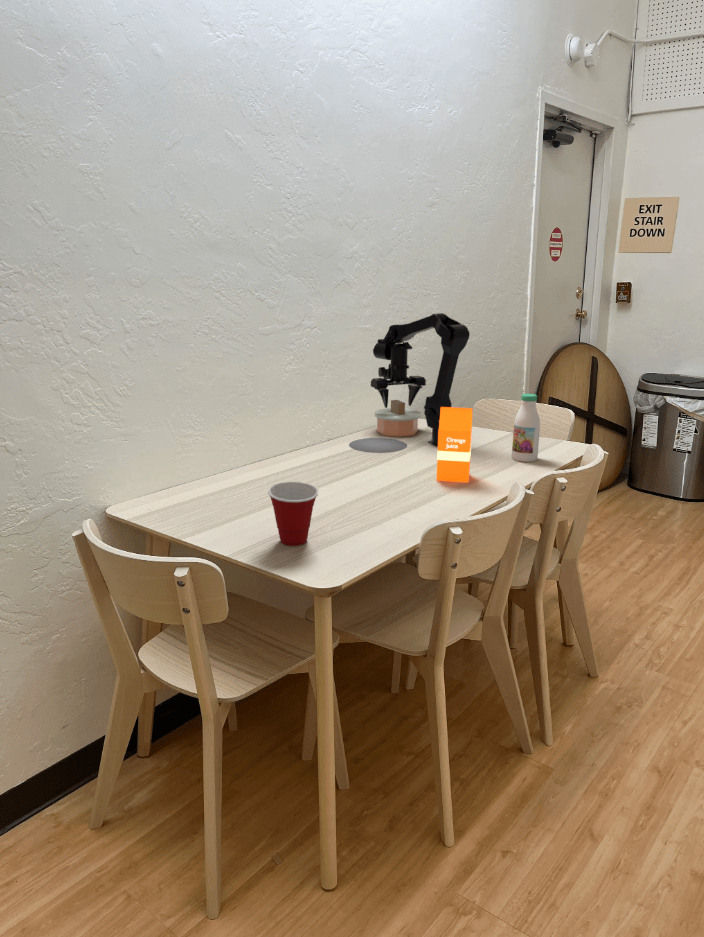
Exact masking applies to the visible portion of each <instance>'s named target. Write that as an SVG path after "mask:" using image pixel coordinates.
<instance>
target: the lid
mask: <svg viewBox="0 0 704 937" xmlns="http://www.w3.org/2000/svg"><path fill="white" fill-rule="evenodd" d="M421 413H422V412H420V411H419V410H416V409H410V408H406V402H404V401H401V400H399V399H390V408H388V407H387V408H381V409H377V410H376V411H374V417H376V419H377V418H379V419H383V420H391V421H408V420H415V419H418V420H419V419H420V418H421Z"/></svg>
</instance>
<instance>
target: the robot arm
mask: <svg viewBox="0 0 704 937" xmlns="http://www.w3.org/2000/svg"><path fill="white" fill-rule="evenodd" d="M433 329H434V332H435V333H436V334H437V336H438V337H440V345H441V347H442V348H441V349H442V352H443V353H442V357H441V361H440V366H439V370H438V373H437V374H438V375H437V378H436V379H437V380H436V384H435V388H434V392H433V394H432V395H431V396H426V398H425V404H424V406H423V409H424V414H423V415H424V416H425V420H426V425H427V427H428V428H430V429H432V430H431V431H432V432H431V440H427V444H428V443H429V444H430V445H432V446H434V447H436V448H438V431H439V422H440V410H441V407H452V401H451V400H452V399H451V398H450V394H451V390H452V385H453V382H454V378H455V373H456V368H457V364H458V360H459V357H460V354H461V353H462V352H463V350H464V349H465V348H466V346H467V343H468V340H469V338H470V333H471V332H470V331H469V328H468V327H467V326H466V325H464V324H462V323H460V321H458V320H455V319H453V318H451V317H449V315H447V314H446V313H443V312H441V313H439V312H438V313H432V314H431V315H429V316H426V317H423V318H420V319H416V320H414V321H411V322H408V323H402V324H401V323H399V324H398V323H397V324H391V325H390V326H389V327H388V331H387V332H386V334H385V336H384V337H383V338H378V339H377V342H376V344H375V345H374V346H373V347H374V348H373V349H372V352H373V356H374V357H375V358H377V359H379V360H385V361H390V363H389V364H388V367H387V368H386V367H385V366H382V367H381V366H380V367H378V377H377V378H376V377H374V378H372V379H371V380H370V387H371V388H374V389H375V390H377V391H378V393H379V395H380V397H381V400H382V404H383V406H384V409H387V408H388V405H389V391H390V390H389V389H388V387H389V386H399V385H407V387H408V406H409V407H411V406H412V404H413V402H414V400H415V398H416V396H417V394H418V393H419V392H420V390H421V389H423V387H425V386H427V379H426V378H425V377H424V376H423V375H422V376H421V375H418V374H417V375H410V376H409V377H408V369H409V368H410V365H408V351H409V350H412V349H413V346H412V345H411V344H410V343H409V342H408V341H409V340H411V339H413V338H414V337H415V336H416V335H417V334H420V333H423V332H426V331H430V330H433Z"/></svg>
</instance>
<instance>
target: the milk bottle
mask: <svg viewBox="0 0 704 937" xmlns="http://www.w3.org/2000/svg"><path fill="white" fill-rule="evenodd" d="M537 400H538V394H534V393H522V394H521V396H520V402H521V404H520V405H521V406H520V408H519V410H518V412H517V413H516V416H515V418H514V424H513V432H512V435H513V436H512V445H511V446H512V447H511V459H513V460H514V461H517V462H524V463H531V462H536V461H537V460H538V455H539V445H540V444H539V442H540V432H541V420H540V416H539V413H538V410H537V406H536V405H537V403H538V402H537Z"/></svg>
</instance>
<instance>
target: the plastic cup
mask: <svg viewBox="0 0 704 937" xmlns="http://www.w3.org/2000/svg"><path fill="white" fill-rule="evenodd" d="M267 490H268V491H267V493H268V495H269V497H270V501H271V504H272V508H273V512H274V517H275V522H276V528H277V531H278V535H279V539H280V542H281V544H282V545H285V546H289V547H290V546H291V547H294V546H295V547H296V546H302V545H304V544H307V541H308V537H309V531H310V527H311V520H312V514H313V509H314V506H315V502H316V499H317V497H318V496H319V489H318V488H317V486H315V485H312V484H310V483H307V482H301V481H283V482H278V483H274V484H273V485H271V486H269V488H268V489H267Z"/></svg>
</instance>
